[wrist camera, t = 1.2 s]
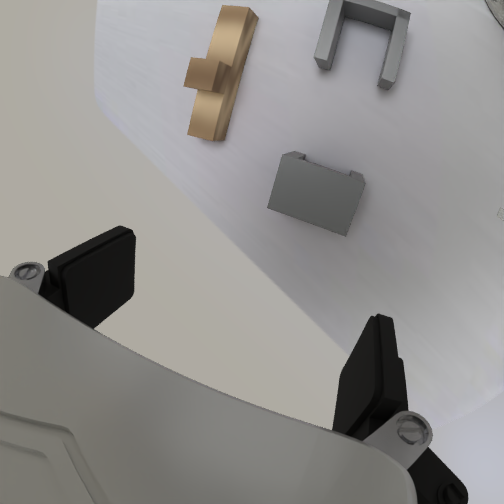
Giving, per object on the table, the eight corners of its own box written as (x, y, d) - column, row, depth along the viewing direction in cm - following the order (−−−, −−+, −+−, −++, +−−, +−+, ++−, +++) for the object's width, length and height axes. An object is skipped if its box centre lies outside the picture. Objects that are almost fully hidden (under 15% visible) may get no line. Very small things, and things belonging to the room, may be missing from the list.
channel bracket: (294, 151, 31) (282, 154, 25) (362, 174, 30) (365, 183, 24) (281, 195, 33) (267, 208, 28) (346, 218, 32) (345, 236, 26)
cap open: (335, 6, 23) (332, -11, 19) (403, 27, 22) (410, 12, 18) (318, 67, 27) (313, 56, 23) (388, 89, 26) (394, 82, 22)
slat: (234, 15, 27) (210, -5, 21) (259, 18, 26) (239, -4, 21) (201, 133, 33) (172, 135, 28) (225, 139, 33) (199, 142, 27)
